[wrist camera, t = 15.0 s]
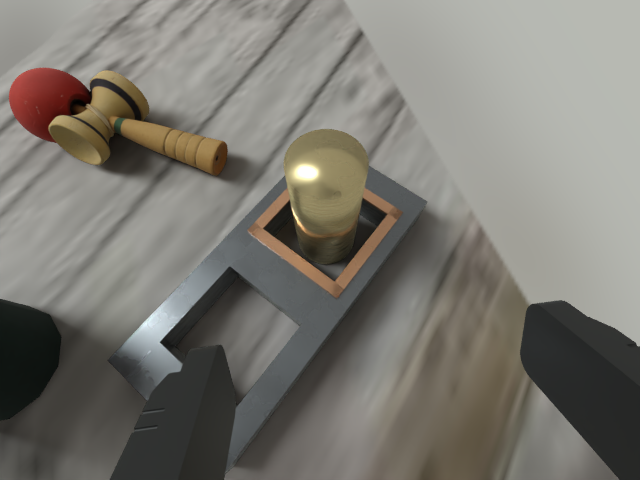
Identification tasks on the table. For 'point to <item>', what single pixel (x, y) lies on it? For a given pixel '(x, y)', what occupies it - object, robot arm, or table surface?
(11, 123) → the table surface
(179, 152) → the kendama
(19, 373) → the wine bottle
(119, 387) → the table surface
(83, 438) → the table surface
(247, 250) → the grey flat frame
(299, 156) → the brass peg
